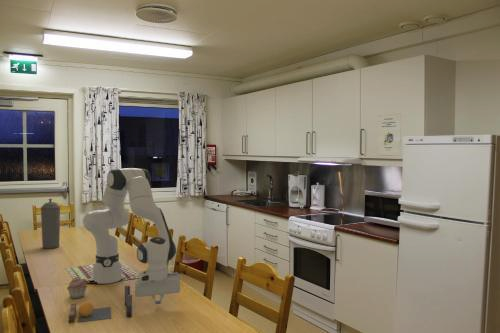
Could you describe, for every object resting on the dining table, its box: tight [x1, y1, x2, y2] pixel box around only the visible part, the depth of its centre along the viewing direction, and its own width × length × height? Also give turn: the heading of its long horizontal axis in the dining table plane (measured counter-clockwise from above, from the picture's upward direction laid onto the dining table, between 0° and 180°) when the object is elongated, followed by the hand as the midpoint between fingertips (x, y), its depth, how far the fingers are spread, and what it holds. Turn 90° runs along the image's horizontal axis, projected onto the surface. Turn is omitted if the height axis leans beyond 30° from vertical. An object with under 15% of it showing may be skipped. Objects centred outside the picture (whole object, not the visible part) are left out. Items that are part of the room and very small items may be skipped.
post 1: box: [124, 284, 131, 307], centre depth 193 cm, size 2×2×9 cm
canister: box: [40, 198, 61, 250], centre depth 301 cm, size 13×13×35 cm
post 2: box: [125, 294, 133, 318], centre depth 181 cm, size 2×2×9 cm
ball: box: [77, 301, 94, 317], centre depth 180 cm, size 6×6×6 cm
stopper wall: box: [68, 303, 77, 324], centre depth 180 cm, size 14×2×3 cm, turn 19°
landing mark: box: [77, 306, 112, 323], centre depth 183 cm, size 13×13×1 cm
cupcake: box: [66, 275, 88, 299], centre depth 204 cm, size 9×9×10 cm
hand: (157, 303), depth 191 cm, fingers closed
